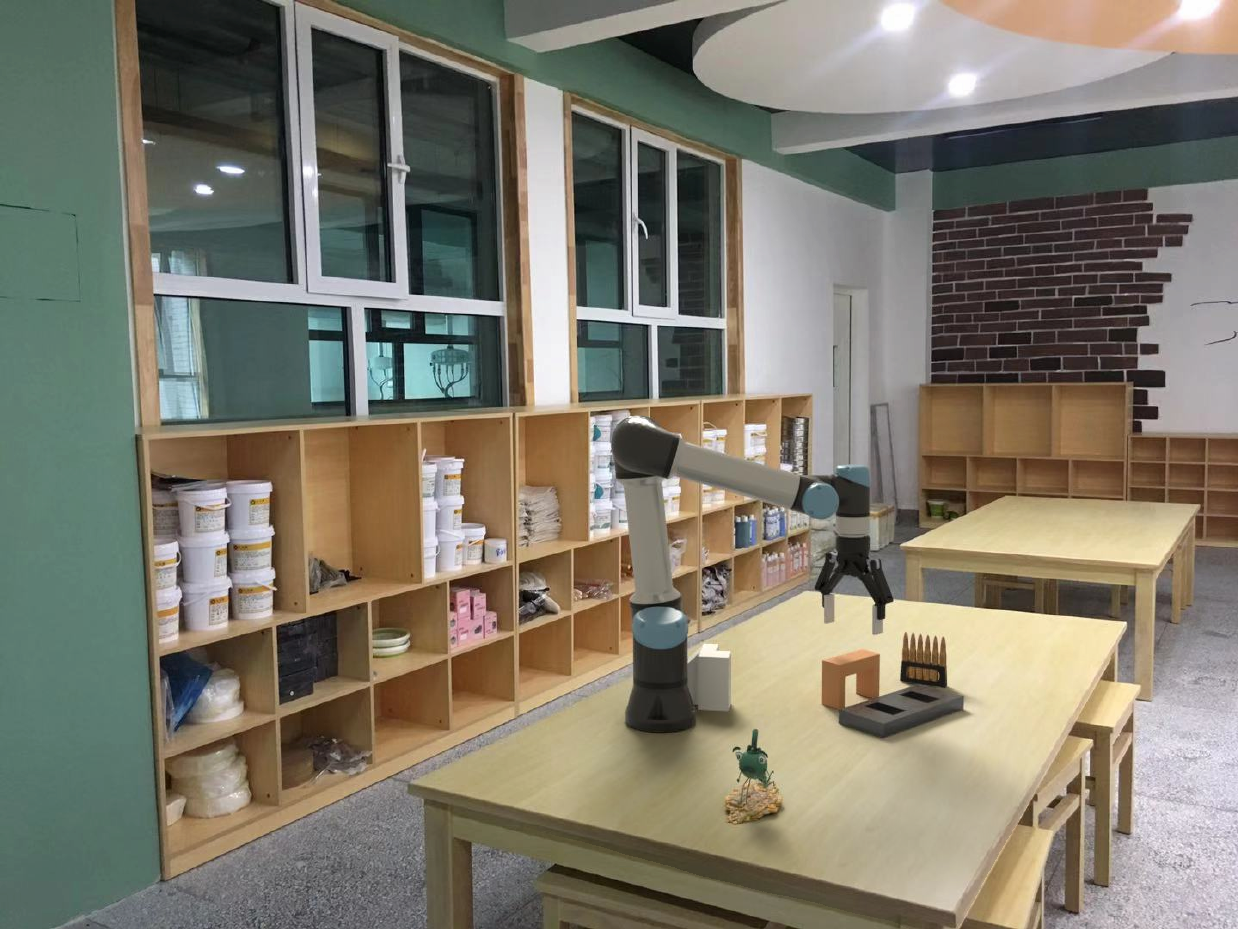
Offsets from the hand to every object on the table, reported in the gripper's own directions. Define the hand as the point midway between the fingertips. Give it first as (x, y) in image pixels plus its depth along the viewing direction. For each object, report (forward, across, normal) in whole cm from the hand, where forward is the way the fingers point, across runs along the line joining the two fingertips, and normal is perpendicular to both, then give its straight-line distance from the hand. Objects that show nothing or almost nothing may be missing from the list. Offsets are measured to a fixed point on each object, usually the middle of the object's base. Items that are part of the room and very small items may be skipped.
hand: (852, 628), depth 234 cm
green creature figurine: (+17, -26, +58) cm, 65 cm away
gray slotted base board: (+17, -14, 0) cm, 22 cm away
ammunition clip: (+17, -3, -23) cm, 28 cm away
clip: (+17, 0, 0) cm, 17 cm away
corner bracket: (+16, +20, +26) cm, 37 cm away
